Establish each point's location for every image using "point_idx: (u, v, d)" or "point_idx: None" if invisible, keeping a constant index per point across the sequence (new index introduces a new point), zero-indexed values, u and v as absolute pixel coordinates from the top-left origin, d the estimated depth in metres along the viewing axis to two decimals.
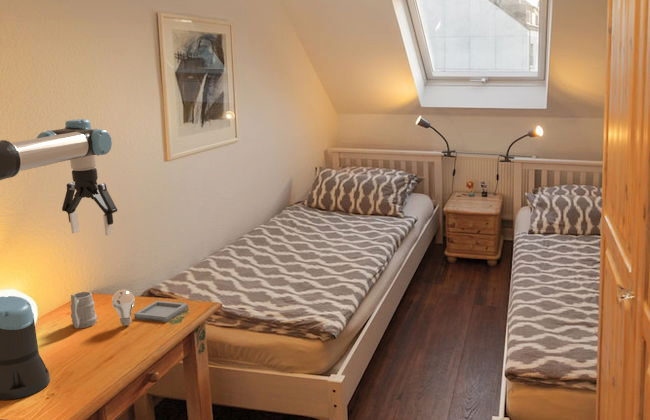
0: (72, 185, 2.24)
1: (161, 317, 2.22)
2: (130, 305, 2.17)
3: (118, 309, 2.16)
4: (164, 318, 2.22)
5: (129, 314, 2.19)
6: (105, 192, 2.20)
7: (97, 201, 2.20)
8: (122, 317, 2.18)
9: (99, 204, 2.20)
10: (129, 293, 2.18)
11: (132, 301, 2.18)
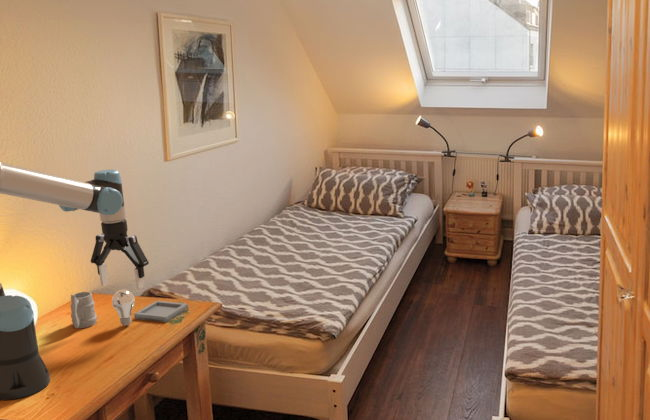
0: (101, 237, 2.16)
1: (161, 317, 2.22)
2: (130, 305, 2.17)
3: (118, 309, 2.16)
4: (164, 318, 2.22)
5: (129, 314, 2.19)
6: (136, 245, 2.12)
7: (128, 254, 2.13)
8: (122, 317, 2.18)
9: (130, 257, 2.13)
10: (129, 293, 2.18)
11: (132, 301, 2.18)
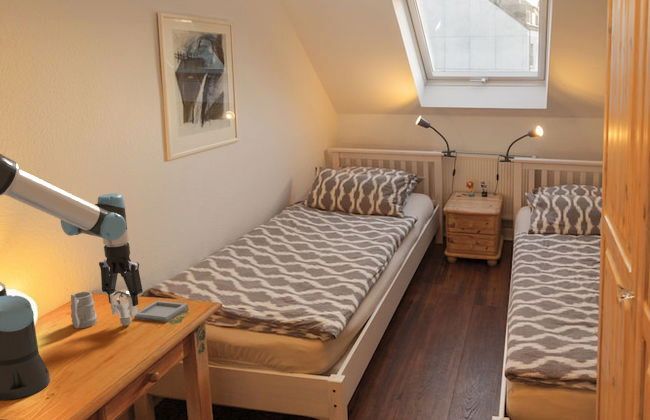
0: (104, 262, 2.18)
1: (161, 317, 2.22)
2: None
3: (118, 309, 2.16)
4: (164, 318, 2.22)
5: (129, 314, 2.19)
6: (136, 273, 2.14)
7: (126, 280, 2.15)
8: (122, 317, 2.18)
9: (127, 284, 2.15)
10: (129, 293, 2.18)
11: None
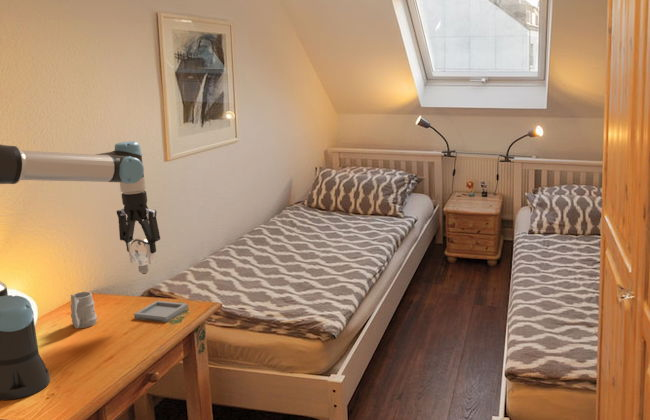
0: (122, 210, 2.20)
1: (161, 317, 2.22)
2: None
3: (136, 256, 2.19)
4: (164, 318, 2.22)
5: (147, 262, 2.21)
6: (154, 220, 2.17)
7: (144, 228, 2.17)
8: (140, 265, 2.21)
9: (145, 231, 2.17)
10: (147, 241, 2.20)
11: None
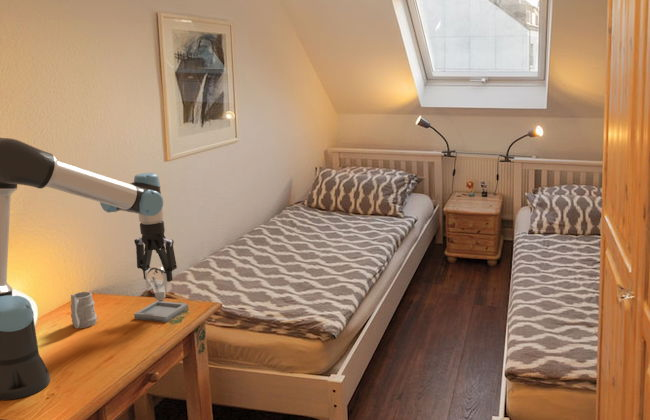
0: (139, 239, 2.26)
1: (161, 317, 2.22)
2: None
3: (153, 284, 2.24)
4: (164, 318, 2.22)
5: (163, 289, 2.27)
6: (171, 249, 2.22)
7: (161, 257, 2.23)
8: (157, 292, 2.26)
9: (162, 260, 2.23)
10: (163, 269, 2.26)
11: None
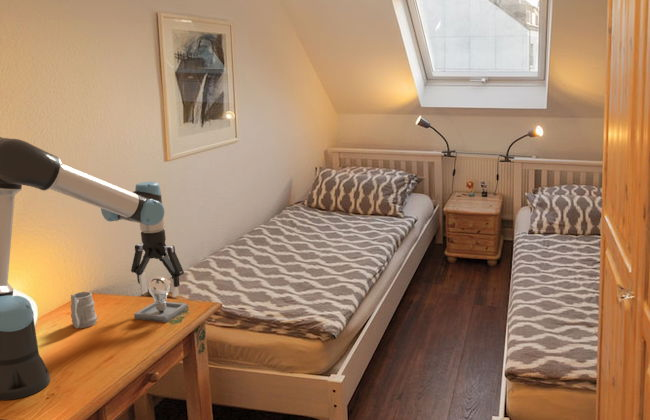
0: (140, 246, 2.26)
1: (161, 317, 2.22)
2: (166, 291, 2.26)
3: (154, 295, 2.25)
4: (164, 318, 2.22)
5: (164, 300, 2.28)
6: (173, 255, 2.22)
7: (165, 263, 2.23)
8: (158, 303, 2.27)
9: (167, 266, 2.23)
10: (165, 280, 2.26)
11: (168, 287, 2.26)
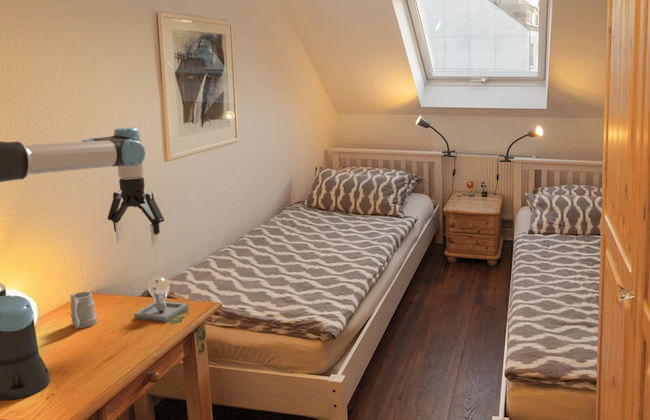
0: (118, 194, 2.21)
1: (161, 317, 2.22)
2: (166, 291, 2.26)
3: (154, 295, 2.25)
4: (164, 318, 2.22)
5: (164, 300, 2.28)
6: (152, 201, 2.17)
7: (144, 210, 2.17)
8: (158, 303, 2.27)
9: (146, 213, 2.17)
10: (164, 280, 2.26)
11: (167, 287, 2.26)
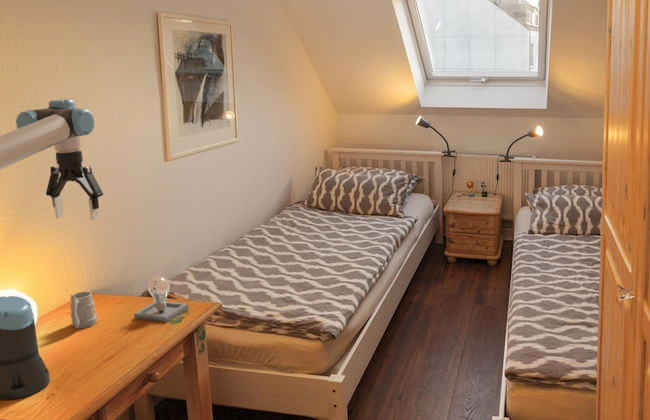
0: (56, 168, 2.15)
1: (161, 317, 2.22)
2: (166, 291, 2.26)
3: (154, 295, 2.25)
4: (164, 318, 2.22)
5: (164, 300, 2.28)
6: (90, 175, 2.11)
7: (82, 185, 2.12)
8: (158, 303, 2.27)
9: (84, 188, 2.12)
10: (164, 280, 2.26)
11: (167, 287, 2.26)
